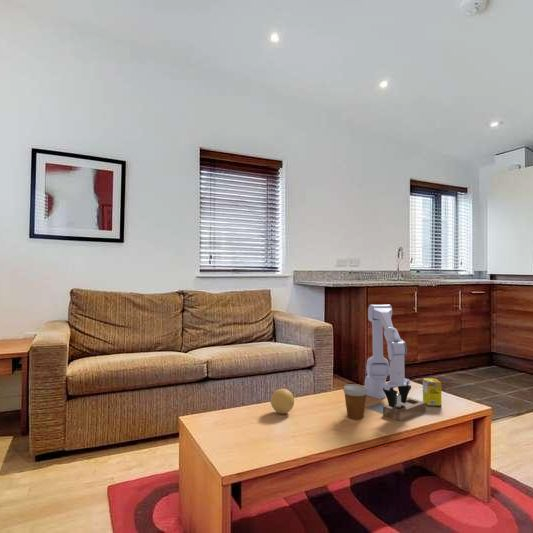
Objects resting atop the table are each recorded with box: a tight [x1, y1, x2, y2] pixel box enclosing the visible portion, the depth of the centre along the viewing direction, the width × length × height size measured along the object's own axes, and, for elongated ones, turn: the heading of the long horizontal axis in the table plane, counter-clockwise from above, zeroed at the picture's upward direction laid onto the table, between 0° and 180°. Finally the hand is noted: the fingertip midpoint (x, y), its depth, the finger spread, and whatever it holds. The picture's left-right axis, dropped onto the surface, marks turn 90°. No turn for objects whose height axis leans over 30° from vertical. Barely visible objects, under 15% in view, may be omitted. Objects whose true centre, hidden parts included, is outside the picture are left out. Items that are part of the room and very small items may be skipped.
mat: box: [364, 402, 386, 415], centre depth 161 cm, size 9×10×1 cm
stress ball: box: [270, 388, 295, 415], centre depth 157 cm, size 10×10×10 cm
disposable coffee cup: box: [343, 383, 367, 420], centre depth 152 cm, size 10×10×12 cm
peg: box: [393, 392, 401, 409], centre depth 152 cm, size 3×3×9 cm
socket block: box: [382, 396, 427, 422], centre depth 155 cm, size 8×18×4 cm, turn 126°
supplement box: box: [422, 378, 442, 408], centre depth 166 cm, size 6×6×11 cm
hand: (397, 404), depth 152 cm, fingers open, 7 cm apart
